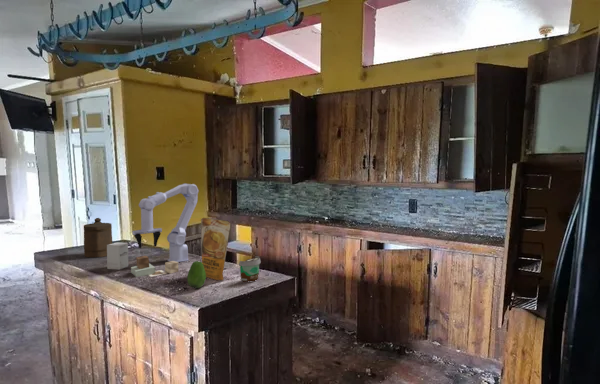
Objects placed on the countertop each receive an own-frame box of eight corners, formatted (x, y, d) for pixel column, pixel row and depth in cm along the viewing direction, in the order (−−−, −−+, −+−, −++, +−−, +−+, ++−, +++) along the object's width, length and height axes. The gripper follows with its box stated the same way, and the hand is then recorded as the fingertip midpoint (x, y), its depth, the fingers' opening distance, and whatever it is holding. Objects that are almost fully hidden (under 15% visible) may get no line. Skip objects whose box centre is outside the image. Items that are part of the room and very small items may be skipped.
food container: (249, 284, 167) (249, 263, 166) (239, 282, 170) (238, 261, 169) (265, 277, 177) (266, 257, 177) (255, 275, 181) (255, 255, 180)
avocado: (204, 290, 159) (204, 263, 158) (185, 290, 158) (185, 263, 157) (207, 284, 167) (207, 258, 166) (189, 284, 166) (189, 258, 165)
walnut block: (146, 265, 186) (145, 255, 185) (149, 267, 182) (148, 257, 182) (137, 267, 183) (136, 257, 182) (139, 269, 179) (139, 259, 179)
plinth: (150, 269, 189) (149, 263, 189) (155, 273, 182) (155, 267, 182) (131, 273, 184) (130, 267, 183) (136, 277, 176) (135, 271, 176)
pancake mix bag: (206, 271, 187) (206, 216, 185) (232, 279, 175) (232, 220, 173) (195, 274, 182) (195, 218, 180) (221, 282, 170) (220, 222, 168)
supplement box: (119, 270, 189) (118, 245, 188) (106, 269, 190) (106, 244, 189) (129, 266, 196) (128, 242, 195) (116, 265, 197) (116, 241, 196)
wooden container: (99, 251, 230) (98, 215, 228) (118, 253, 225) (117, 217, 223) (78, 256, 216) (76, 219, 214) (97, 258, 211) (96, 220, 209)
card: (161, 270, 188) (161, 269, 188) (167, 274, 182) (167, 273, 182) (145, 273, 183) (145, 272, 183) (150, 277, 177) (150, 276, 177)
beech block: (173, 270, 189) (172, 260, 188) (178, 272, 186) (178, 262, 186) (165, 272, 185) (165, 262, 185) (170, 274, 183) (170, 264, 182)
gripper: (134, 223, 186) (135, 250, 187) (163, 221, 196) (164, 246, 196) (130, 221, 192) (131, 247, 193) (159, 219, 201) (159, 244, 202)
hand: (147, 246), depth 195 cm, fingers open, 7 cm apart
